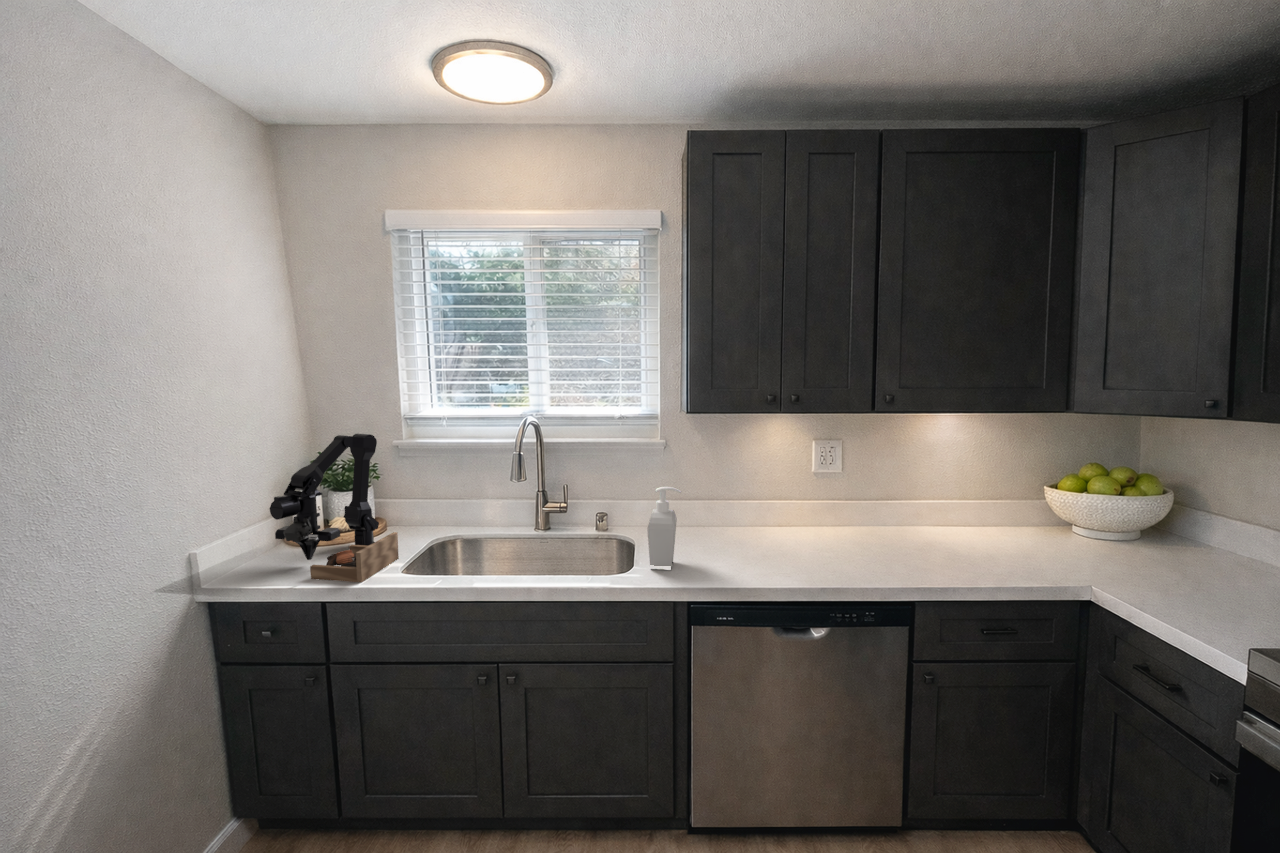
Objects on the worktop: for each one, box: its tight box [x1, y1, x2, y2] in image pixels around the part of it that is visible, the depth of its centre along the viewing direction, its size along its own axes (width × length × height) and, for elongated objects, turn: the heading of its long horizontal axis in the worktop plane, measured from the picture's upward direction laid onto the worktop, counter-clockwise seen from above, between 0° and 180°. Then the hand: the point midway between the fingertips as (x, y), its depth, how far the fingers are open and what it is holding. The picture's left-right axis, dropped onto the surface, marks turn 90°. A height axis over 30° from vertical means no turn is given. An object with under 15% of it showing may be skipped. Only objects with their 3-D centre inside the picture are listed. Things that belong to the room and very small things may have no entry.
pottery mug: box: [325, 549, 356, 567], centre depth 192 cm, size 12×10×8 cm
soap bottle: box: [646, 486, 682, 567], centre depth 198 cm, size 12×10×26 cm
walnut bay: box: [309, 531, 400, 583], centre depth 195 cm, size 21×16×9 cm
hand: (309, 559), depth 197 cm, fingers closed
